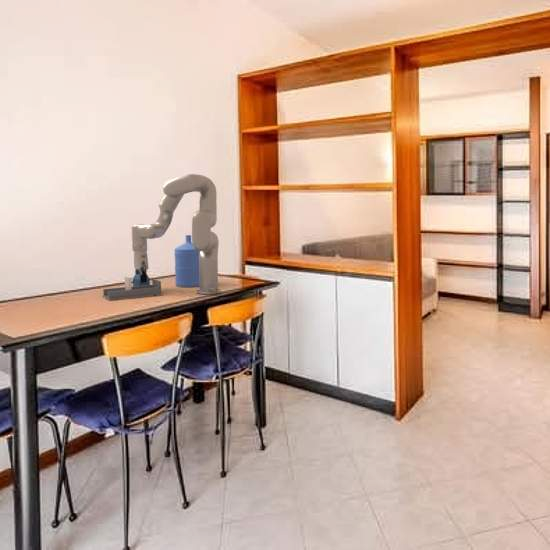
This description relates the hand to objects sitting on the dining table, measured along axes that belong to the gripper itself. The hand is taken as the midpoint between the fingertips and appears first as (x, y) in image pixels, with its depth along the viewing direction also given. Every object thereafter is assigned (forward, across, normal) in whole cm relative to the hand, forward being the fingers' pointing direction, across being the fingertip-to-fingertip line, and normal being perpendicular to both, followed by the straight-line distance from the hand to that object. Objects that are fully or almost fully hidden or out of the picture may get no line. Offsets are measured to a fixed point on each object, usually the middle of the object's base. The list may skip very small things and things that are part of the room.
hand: (141, 280), depth 274 cm
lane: (+5, -14, +9) cm, 17 cm away
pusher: (+4, -14, +10) cm, 18 cm away
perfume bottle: (+5, 0, 0) cm, 5 cm away
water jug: (+5, +2, -28) cm, 29 cm away
